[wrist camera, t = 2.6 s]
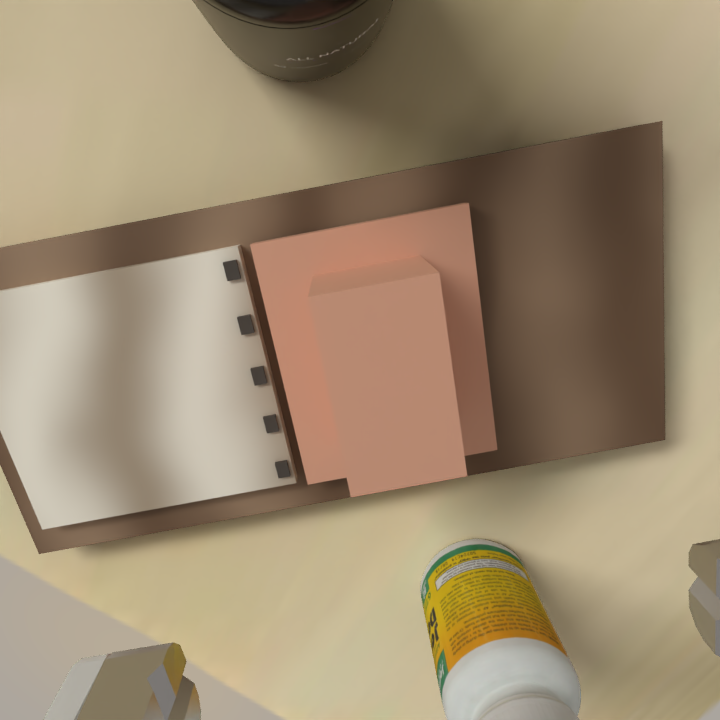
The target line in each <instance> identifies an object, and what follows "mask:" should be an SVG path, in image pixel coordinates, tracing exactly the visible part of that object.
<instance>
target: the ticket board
mask: <svg viewBox="0 0 720 720" xmlns="http://www.w3.org/2000/svg"><path fill="white" fill-rule="evenodd" d="M460 203H469V208H470V217H471V225H472V234H473V243H474V251H475V260H476V269H477V277H478V286H479V295H480V303H481V312H482V321H483V329H484V338H485V346H486V355H487V364H488V372H489V381H490V390H491V398H492V407H493V416H494V424H495V433H496V442H497V450H494V451H489V452H483V453H478V454H473V455H467V456H465V463H466V470H467V476H469V475H474V474H480V473H485V472H491V471H496V470H502V469H507V468H513V467H518V466H524V465H529V464H535V463H540V462H546V461H551V460H557V459H562V458H568V457H573V456H579V455H584V454H590V453H595V452H600V451H606V450H611V449H617V448H622V447H628V446H633V445H639V444H644V443H650V442H655V441H661V440H665V363H664V253H663V143H662V121H660V122H655V123H649V124H643V125H638V126H633V127H628V128H622V129H617V130H612V131H607V132H602V133H596V134H591V135H586V136H581V137H575V138H570V139H565V140H560V141H555V142H549V143H544V144H539V145H534V146H529V147H523V148H518V149H513V150H508V151H502V152H497V153H492V154H487V155H482V156H476V157H471V158H466V159H461V160H456V161H450V162H445V163H440V164H435V165H429V166H424V167H419V168H414V169H409V170H403V171H398V172H393V173H388V174H382V175H377V176H372V177H367V178H362V179H356V180H351V181H346V182H341V183H336V184H330V185H325V186H320V187H315V188H309V189H304V190H299V191H294V192H289V193H283V194H278V195H273V196H268V197H263V198H257V199H252V200H247V201H242V202H236V203H231V204H226V205H221V206H216V207H210V208H205V209H200V210H195V211H189V212H184V213H179V214H174V215H169V216H163V217H158V218H153V219H148V220H143V221H137V222H132V223H127V224H122V225H116V226H111V227H106V228H101V229H96V230H90V231H85V232H80V233H75V234H70V235H64V236H59V237H54V238H49V239H43V240H38V241H33V242H28V243H23V244H17V245H12V246H7V247H2V248H0V465H1V467H2V470H3V472H4V474H5V476H6V479H7V481H8V483H9V486H10V488H11V490H12V493H13V495H14V497H15V499H16V502H17V504H18V506H19V509H20V511H21V513H22V516H23V518H24V520H25V522H26V525H27V527H28V529H29V532H30V534H31V536H32V539H33V541H34V543H35V545H36V548H37V550H38V552H39V554H41V553H47V552H52V551H58V550H63V549H69V548H74V547H80V546H85V545H91V544H96V543H102V542H107V541H113V540H118V539H124V538H129V537H135V536H140V535H145V534H151V533H156V532H162V531H167V530H173V529H178V528H184V527H189V526H195V525H200V524H206V523H211V522H217V521H222V520H228V519H233V518H239V517H244V516H250V515H255V514H261V513H266V512H272V511H277V510H283V509H288V508H293V507H299V506H304V505H310V504H315V503H321V502H326V501H332V500H337V499H343V498H348V497H351V496H350V491H349V486H348V482H347V478H341V479H336V480H330V481H325V482H320V483H314V484H309V485H308V484H307V480H306V475H305V471H304V467H303V463H302V459H301V455H300V451H299V446H298V442H297V438H296V434H295V430H294V426H293V421H292V417H291V413H290V409H289V405H288V401H287V397H286V392H285V388H284V384H283V380H282V376H281V372H280V368H279V363H278V359H277V355H276V351H275V347H274V343H273V339H272V334H271V330H270V326H269V322H268V318H267V314H266V310H265V305H264V301H263V297H262V293H261V289H260V285H259V281H258V276H257V272H256V268H255V264H254V260H253V256H252V252H251V247H250V244H252V243H255V242H261V241H266V240H271V239H276V238H282V237H287V236H292V235H297V234H303V233H308V232H313V231H318V230H324V229H329V228H334V227H339V226H345V225H350V224H355V223H360V222H366V221H371V220H376V219H381V218H387V217H392V216H397V215H402V214H408V213H413V212H418V211H423V210H429V209H434V208H439V207H444V206H450V205H455V204H460Z"/></svg>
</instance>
